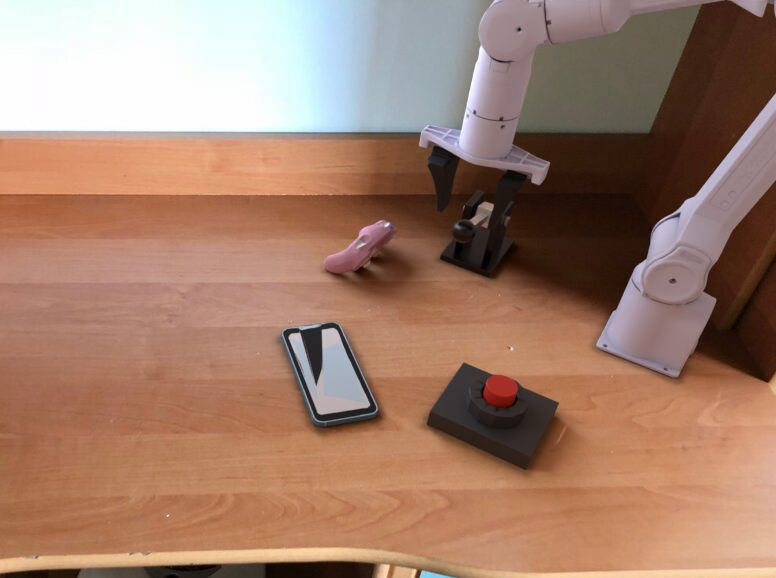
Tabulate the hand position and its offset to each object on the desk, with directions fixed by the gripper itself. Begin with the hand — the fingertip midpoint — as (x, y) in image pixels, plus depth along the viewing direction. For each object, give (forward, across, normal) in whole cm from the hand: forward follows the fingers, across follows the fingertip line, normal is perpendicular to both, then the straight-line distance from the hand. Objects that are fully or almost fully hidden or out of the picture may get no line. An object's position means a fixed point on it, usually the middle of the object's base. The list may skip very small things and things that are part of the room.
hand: (467, 216), depth 95 cm
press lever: (+5, 0, -4) cm, 6 cm away
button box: (+10, -13, +19) cm, 25 cm away
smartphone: (+10, +5, +23) cm, 26 cm away
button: (+7, -13, +19) cm, 24 cm away
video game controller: (+11, +12, +2) cm, 16 cm away
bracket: (+10, 0, -9) cm, 14 cm away
